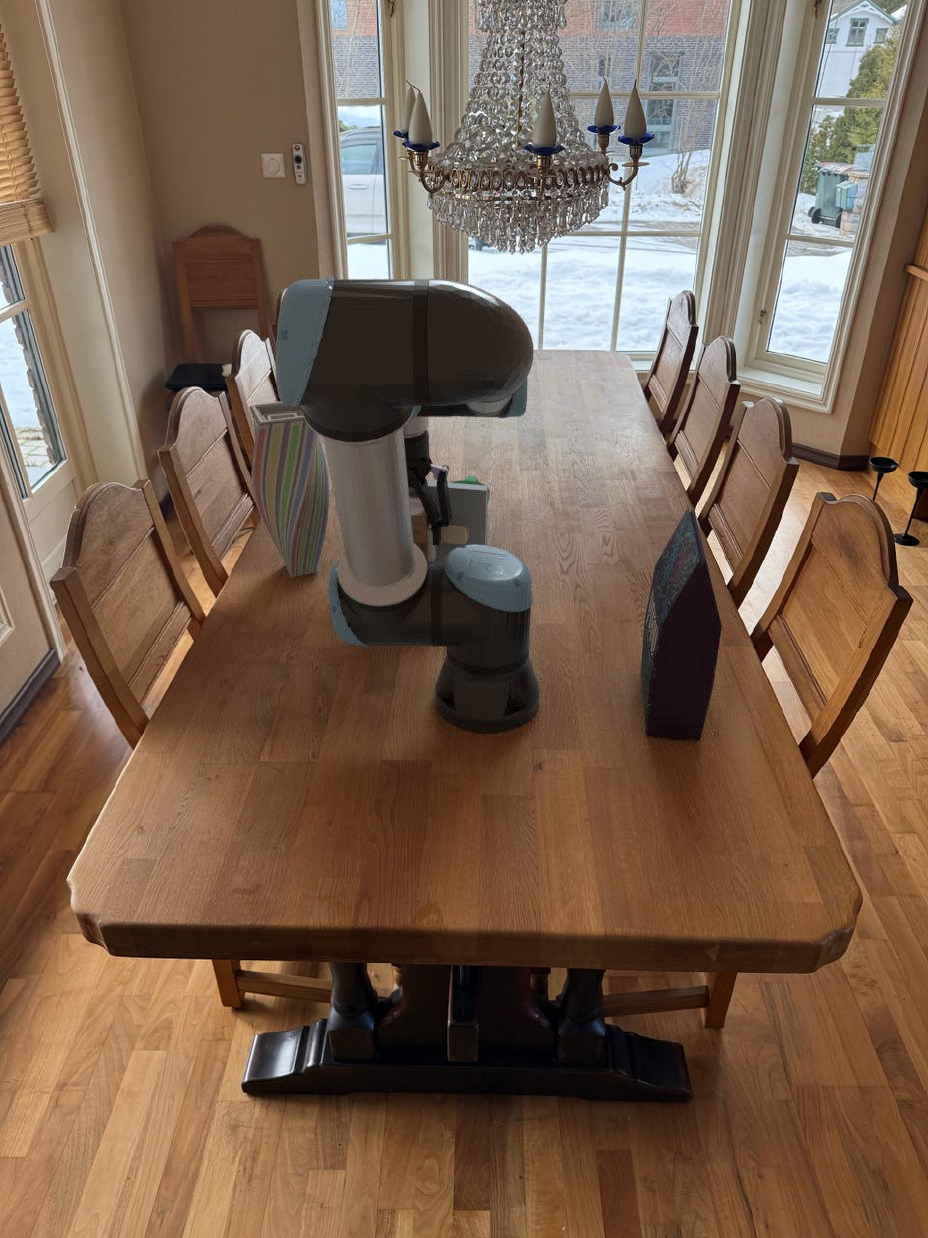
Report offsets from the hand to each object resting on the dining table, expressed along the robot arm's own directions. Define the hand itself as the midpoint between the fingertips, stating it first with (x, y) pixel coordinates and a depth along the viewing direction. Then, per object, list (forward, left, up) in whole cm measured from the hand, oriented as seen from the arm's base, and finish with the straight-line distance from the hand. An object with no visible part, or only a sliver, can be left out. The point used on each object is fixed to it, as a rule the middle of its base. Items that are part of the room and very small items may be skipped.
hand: (409, 558), depth 149 cm
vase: (+5, +22, -7) cm, 24 cm away
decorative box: (-23, -44, -7) cm, 50 cm away
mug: (+25, -5, -7) cm, 27 cm away
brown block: (+1, 0, -1) cm, 1 cm away
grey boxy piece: (+9, 0, -7) cm, 11 cm away
